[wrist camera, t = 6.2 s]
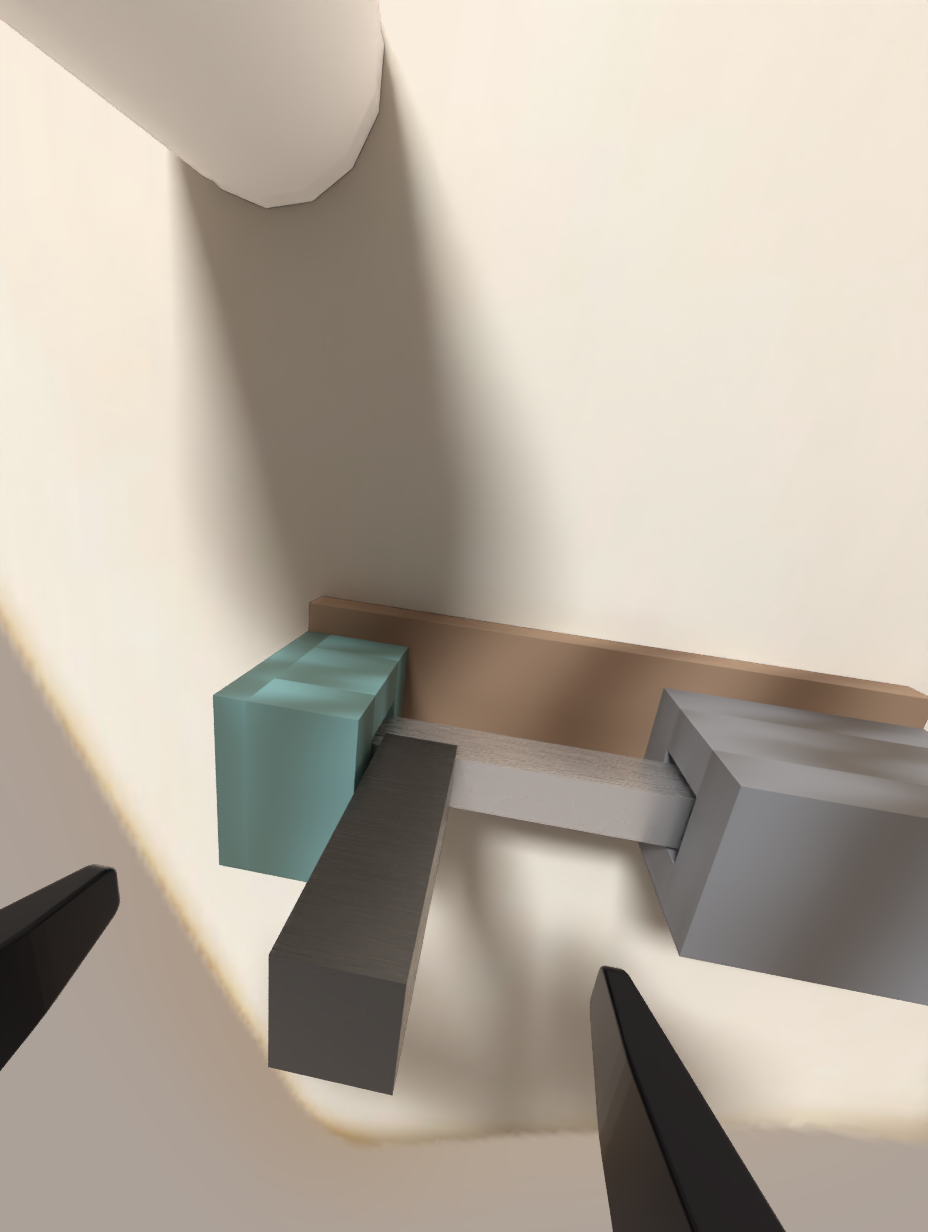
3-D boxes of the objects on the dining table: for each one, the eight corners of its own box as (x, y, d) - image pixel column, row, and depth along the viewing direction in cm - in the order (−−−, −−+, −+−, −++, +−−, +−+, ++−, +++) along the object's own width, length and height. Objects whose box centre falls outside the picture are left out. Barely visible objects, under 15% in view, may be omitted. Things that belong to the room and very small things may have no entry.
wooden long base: (908, 686, 14) (1172, 815, 9) (831, 856, 16) (1004, 1053, 11) (321, 596, 16) (211, 655, 10) (315, 763, 18) (220, 893, 12)
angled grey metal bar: (735, 762, 13) (1031, 1116, 6) (712, 829, 13) (948, 1221, 6) (315, 691, 14) (92, 918, 6) (313, 757, 14) (108, 1030, 7)
